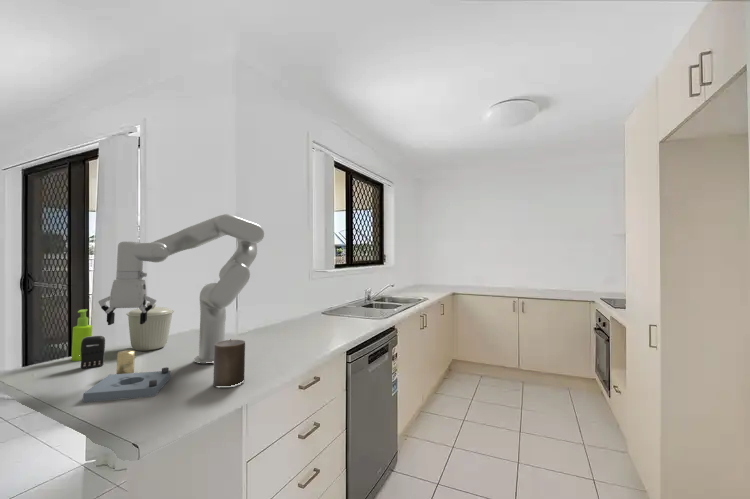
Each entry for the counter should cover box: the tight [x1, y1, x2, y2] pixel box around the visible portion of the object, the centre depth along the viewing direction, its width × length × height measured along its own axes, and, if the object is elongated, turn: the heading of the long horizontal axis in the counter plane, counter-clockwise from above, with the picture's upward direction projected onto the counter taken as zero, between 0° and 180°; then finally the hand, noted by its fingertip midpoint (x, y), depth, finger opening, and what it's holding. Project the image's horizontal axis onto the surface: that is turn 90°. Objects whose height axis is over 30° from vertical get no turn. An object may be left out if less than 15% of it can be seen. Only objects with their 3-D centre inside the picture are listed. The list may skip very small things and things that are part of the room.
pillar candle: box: [212, 338, 246, 386], centre depth 112 cm, size 10×10×15 cm
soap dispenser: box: [70, 308, 93, 362], centre depth 134 cm, size 6×7×20 cm
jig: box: [82, 366, 172, 403], centre depth 106 cm, size 18×16×4 cm
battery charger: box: [80, 335, 106, 369], centre depth 125 cm, size 7×4×11 cm, turn 126°
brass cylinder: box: [115, 349, 136, 374], centre depth 118 cm, size 5×5×8 cm
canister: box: [125, 301, 175, 352], centre depth 152 cm, size 18×18×21 cm
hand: (127, 323), depth 118 cm, fingers open, 9 cm apart
